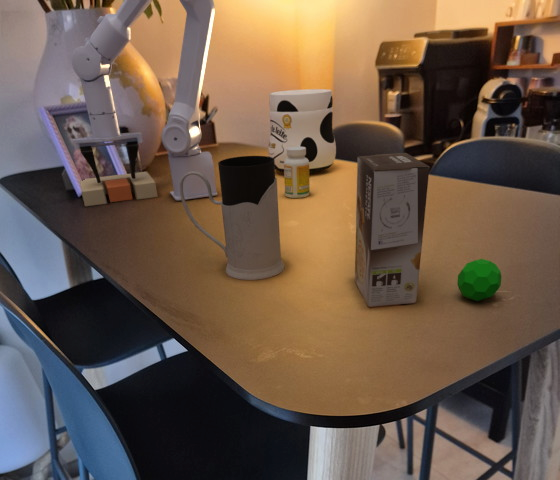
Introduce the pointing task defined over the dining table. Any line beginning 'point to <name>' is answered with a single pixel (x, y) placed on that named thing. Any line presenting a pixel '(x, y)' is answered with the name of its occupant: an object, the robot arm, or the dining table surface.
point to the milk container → (302, 126)
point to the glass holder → (247, 216)
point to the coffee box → (389, 227)
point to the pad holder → (97, 191)
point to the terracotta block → (118, 190)
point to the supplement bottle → (296, 173)
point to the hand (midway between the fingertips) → (116, 180)
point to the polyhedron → (479, 280)
